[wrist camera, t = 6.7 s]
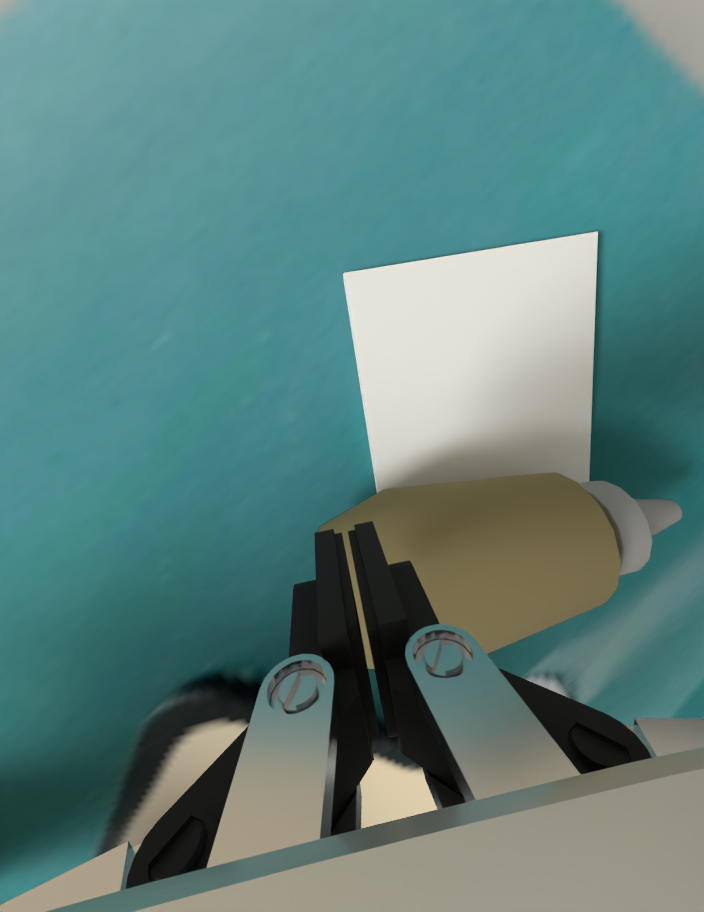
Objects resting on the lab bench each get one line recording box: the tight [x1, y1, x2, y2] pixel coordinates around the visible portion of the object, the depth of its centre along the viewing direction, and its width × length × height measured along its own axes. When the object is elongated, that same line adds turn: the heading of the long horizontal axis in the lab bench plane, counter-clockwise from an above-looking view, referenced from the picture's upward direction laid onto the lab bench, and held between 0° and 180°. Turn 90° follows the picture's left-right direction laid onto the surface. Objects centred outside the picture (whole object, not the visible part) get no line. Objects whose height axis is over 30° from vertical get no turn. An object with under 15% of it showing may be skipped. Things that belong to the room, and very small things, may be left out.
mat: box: [343, 232, 598, 493], centre depth 20 cm, size 18×12×1 cm, turn 9°
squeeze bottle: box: [318, 472, 682, 669], centre depth 18 cm, size 8×8×18 cm
